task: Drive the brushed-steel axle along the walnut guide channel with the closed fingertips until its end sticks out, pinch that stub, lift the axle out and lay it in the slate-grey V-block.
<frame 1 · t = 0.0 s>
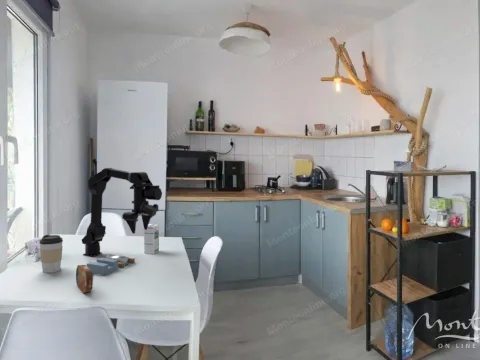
hand: (139, 231, 162), 15 cm above the table, fingers open, 9 cm apart
axle: (117, 259, 159), point 2 cm above the table
syrup box: (151, 252, 180), on the table
coffee cup: (51, 270, 149), on the table
tin: (84, 289, 129), on the table
guide channel: (117, 263, 160), on the table
v block: (102, 270, 149), on the table
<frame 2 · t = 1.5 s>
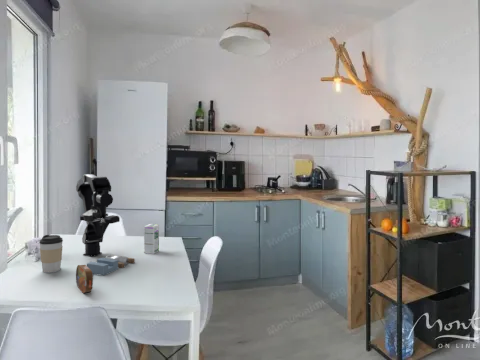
hand: (99, 236, 162), 12 cm above the table, fingers closed
axle: (116, 260, 159), point 2 cm above the table, tilted 24°
everything else where it was.
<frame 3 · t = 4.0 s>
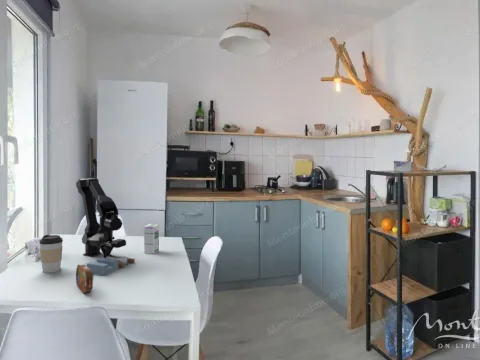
hand: (106, 259, 162), 1 cm above the table, fingers closed
axle: (117, 260, 159), point 2 cm above the table, tilted 13°, touching gripper
everything else where it was.
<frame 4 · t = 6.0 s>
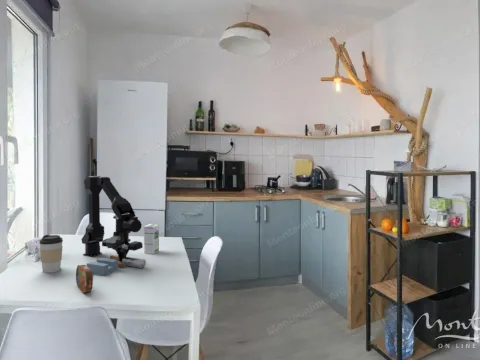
hand: (122, 262, 159), 1 cm above the table, fingers closed
axle: (133, 262, 156), point 2 cm above the table, tilted 13°, touching gripper
everything else where it was.
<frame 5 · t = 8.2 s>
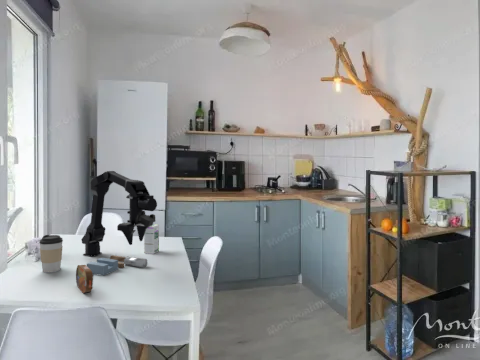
hand: (135, 242, 155), 11 cm above the table, fingers open, 7 cm apart
axle: (135, 262, 157), point 2 cm above the table, tilted 23°
everything else where it was.
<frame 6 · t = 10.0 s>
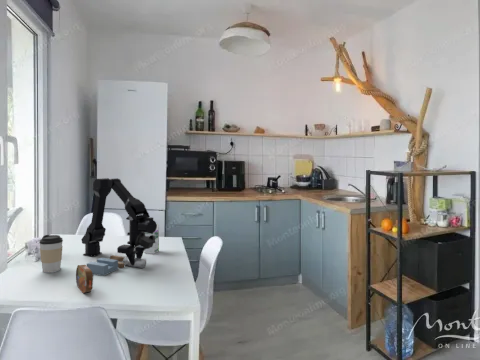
hand: (135, 263, 156), 1 cm above the table, fingers closed on axle, 4 cm apart
axle: (134, 262, 156), point 2 cm above the table, touching gripper
everything else where it was.
when the fingers open (6 cm above the table, at t = 14.5 s): axle drops 1 cm, resting on v block.
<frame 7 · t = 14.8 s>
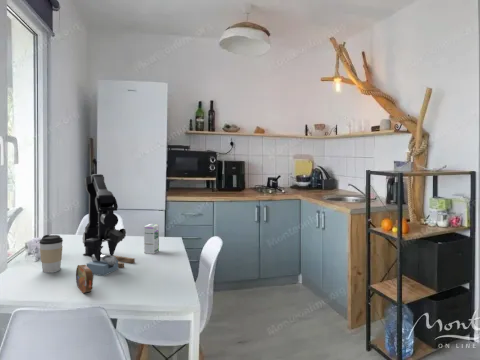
hand: (105, 258, 149), 6 cm above the table, fingers open, 8 cm apart
axle: (104, 259, 149), point 5 cm above the table, touching v block
everything else where it was.
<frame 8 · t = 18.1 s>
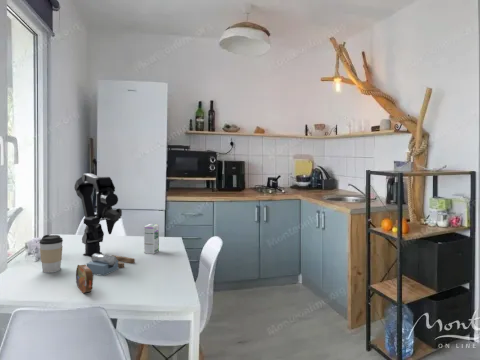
hand: (103, 236, 162), 12 cm above the table, fingers open, 9 cm apart
nothing on the table moved.
at the end: axle 0.8 cm off-centre on the v block, point 5.2 cm above the v block's base; axle touching v block; the gripper is holding nothing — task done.
